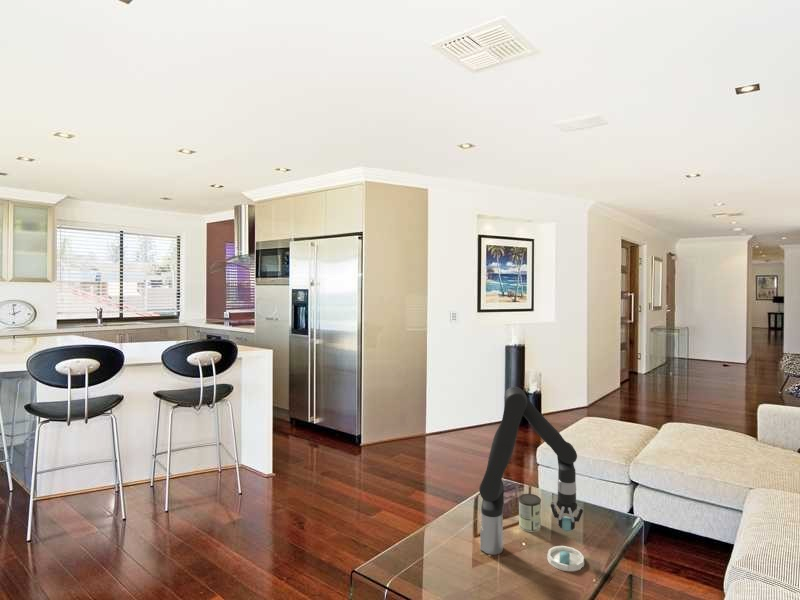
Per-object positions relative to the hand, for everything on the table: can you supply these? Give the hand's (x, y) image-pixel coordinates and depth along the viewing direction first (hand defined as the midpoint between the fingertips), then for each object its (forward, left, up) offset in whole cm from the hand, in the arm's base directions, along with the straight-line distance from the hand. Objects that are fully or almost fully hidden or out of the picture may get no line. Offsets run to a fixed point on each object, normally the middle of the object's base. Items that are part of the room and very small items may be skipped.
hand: (566, 528), depth 224 cm
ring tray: (0, -4, -13) cm, 13 cm away
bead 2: (0, -7, -12) cm, 14 cm away
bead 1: (0, 0, 0) cm, 0 cm away
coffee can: (-19, +18, -13) cm, 29 cm away
